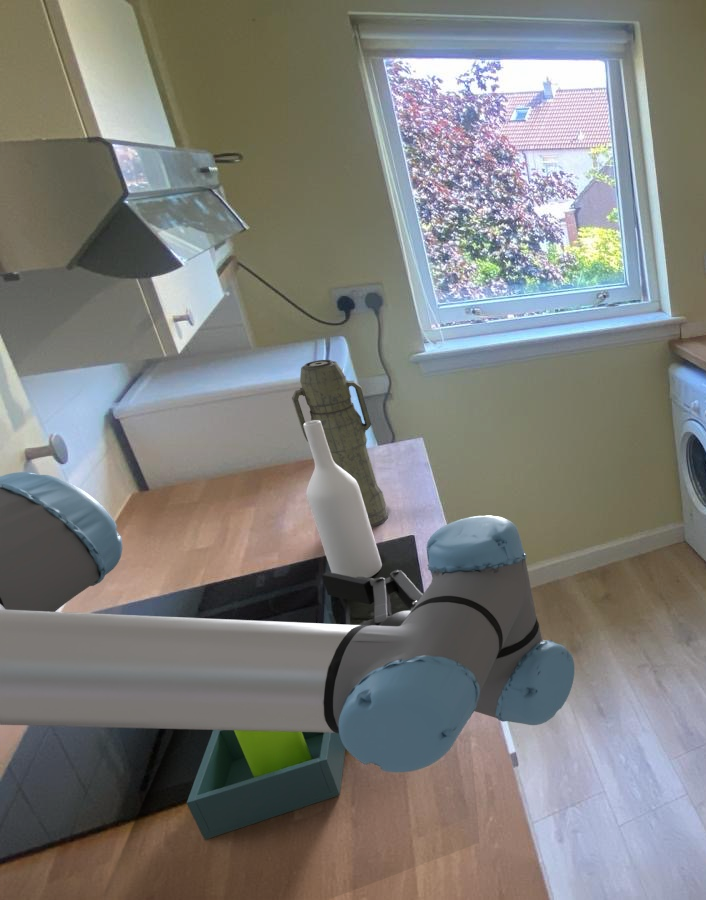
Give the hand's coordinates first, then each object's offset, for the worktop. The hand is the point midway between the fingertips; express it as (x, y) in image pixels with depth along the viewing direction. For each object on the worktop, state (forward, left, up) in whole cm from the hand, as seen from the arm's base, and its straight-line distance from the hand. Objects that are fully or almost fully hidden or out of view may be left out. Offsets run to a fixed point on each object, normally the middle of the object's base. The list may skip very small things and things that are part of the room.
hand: (270, 616), depth 79 cm
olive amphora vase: (-2, +82, -27) cm, 86 cm away
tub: (-7, +7, -26) cm, 28 cm away
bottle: (-2, +59, -27) cm, 64 cm away
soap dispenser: (-7, +7, -26) cm, 27 cm away
